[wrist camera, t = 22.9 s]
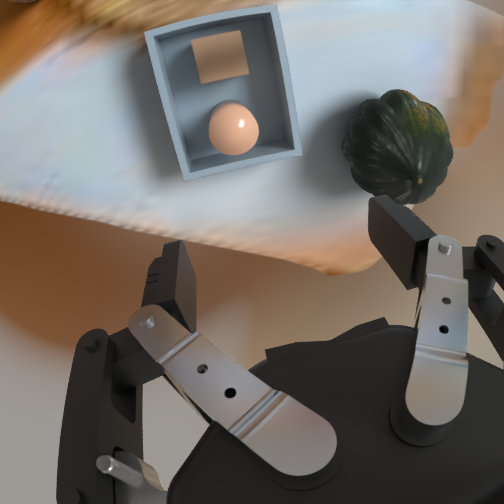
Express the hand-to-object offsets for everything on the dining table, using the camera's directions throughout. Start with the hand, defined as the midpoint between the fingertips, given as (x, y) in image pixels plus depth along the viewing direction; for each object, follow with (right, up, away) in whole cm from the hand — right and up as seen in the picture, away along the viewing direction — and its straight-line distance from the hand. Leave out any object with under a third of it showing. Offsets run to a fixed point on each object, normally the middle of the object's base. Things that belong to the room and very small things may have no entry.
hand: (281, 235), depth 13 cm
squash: (+17, +16, +27) cm, 35 cm away
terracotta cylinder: (-4, +15, +22) cm, 27 cm away
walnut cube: (-5, +22, +18) cm, 28 cm away
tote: (-4, +19, +21) cm, 28 cm away
